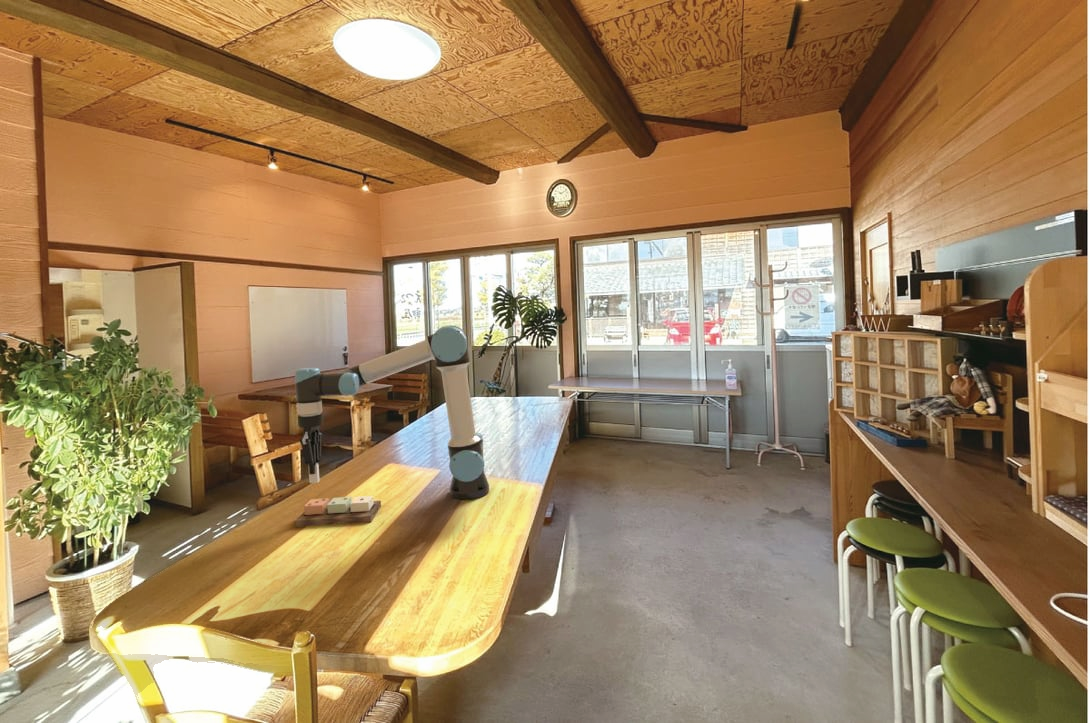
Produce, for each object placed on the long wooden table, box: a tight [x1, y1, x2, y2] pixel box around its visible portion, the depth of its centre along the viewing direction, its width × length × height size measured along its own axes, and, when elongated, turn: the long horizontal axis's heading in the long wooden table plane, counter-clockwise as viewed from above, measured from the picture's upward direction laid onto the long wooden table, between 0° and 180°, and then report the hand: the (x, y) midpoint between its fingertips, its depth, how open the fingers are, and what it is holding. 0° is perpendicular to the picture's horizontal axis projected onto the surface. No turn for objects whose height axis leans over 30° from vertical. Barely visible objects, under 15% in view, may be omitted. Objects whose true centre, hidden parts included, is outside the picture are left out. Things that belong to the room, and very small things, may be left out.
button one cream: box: [350, 495, 375, 512], centre depth 161 cm, size 6×6×3 cm
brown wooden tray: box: [295, 500, 382, 528], centre depth 161 cm, size 24×13×2 cm, turn 95°
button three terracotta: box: [303, 497, 330, 515], centre depth 160 cm, size 6×6×3 cm
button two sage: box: [327, 496, 353, 513], centre depth 160 cm, size 6×6×3 cm
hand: (314, 482), depth 159 cm, fingers closed
